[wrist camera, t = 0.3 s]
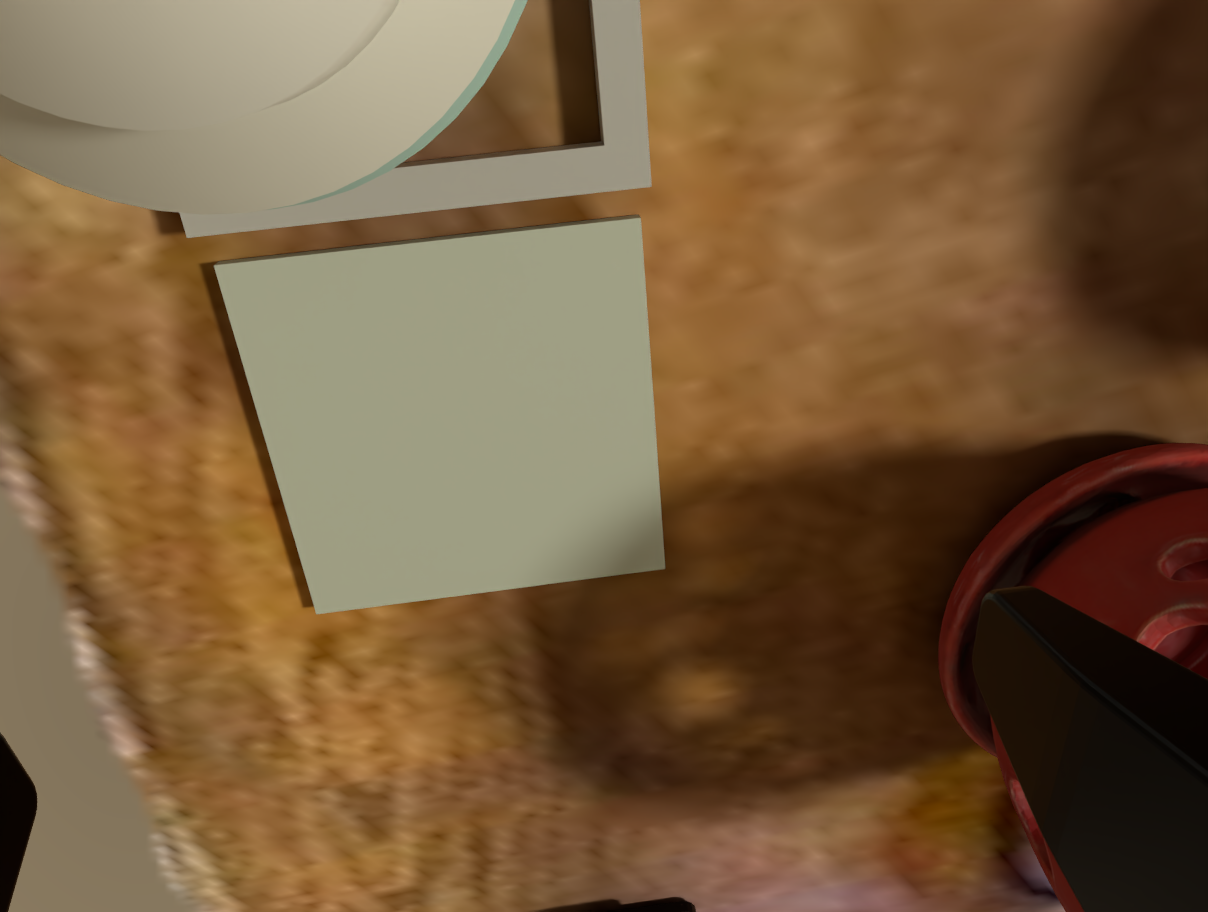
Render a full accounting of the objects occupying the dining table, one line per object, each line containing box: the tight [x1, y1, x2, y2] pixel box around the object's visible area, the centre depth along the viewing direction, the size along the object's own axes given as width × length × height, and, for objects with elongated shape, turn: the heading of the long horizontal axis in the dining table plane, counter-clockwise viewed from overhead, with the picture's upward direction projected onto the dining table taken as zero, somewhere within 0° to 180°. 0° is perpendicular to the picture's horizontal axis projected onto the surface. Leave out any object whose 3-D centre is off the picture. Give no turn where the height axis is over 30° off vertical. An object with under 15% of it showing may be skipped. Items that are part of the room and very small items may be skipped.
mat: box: [214, 215, 665, 614], centre depth 23 cm, size 10×10×1 cm
